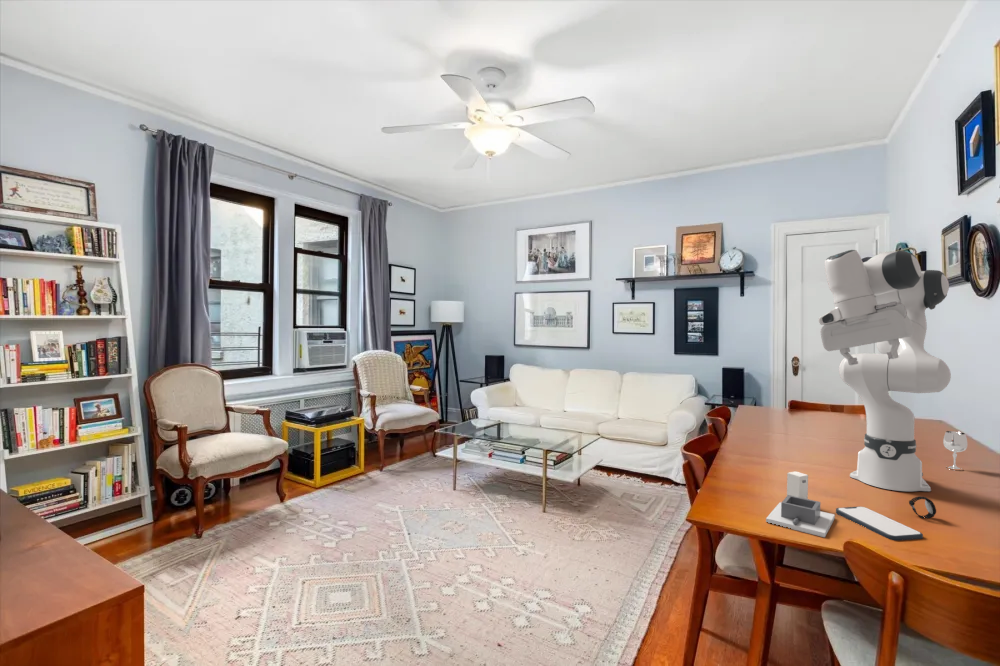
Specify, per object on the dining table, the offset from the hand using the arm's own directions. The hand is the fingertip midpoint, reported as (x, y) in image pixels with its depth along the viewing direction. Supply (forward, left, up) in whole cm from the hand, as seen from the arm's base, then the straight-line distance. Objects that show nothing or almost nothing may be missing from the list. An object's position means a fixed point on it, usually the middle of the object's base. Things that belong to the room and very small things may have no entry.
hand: (873, 361), depth 124 cm
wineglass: (-60, +17, -39) cm, 73 cm away
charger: (+9, -15, -38) cm, 42 cm away
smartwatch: (-2, +10, -39) cm, 40 cm away
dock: (+21, -12, -38) cm, 45 cm away
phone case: (+11, +2, -39) cm, 41 cm away
